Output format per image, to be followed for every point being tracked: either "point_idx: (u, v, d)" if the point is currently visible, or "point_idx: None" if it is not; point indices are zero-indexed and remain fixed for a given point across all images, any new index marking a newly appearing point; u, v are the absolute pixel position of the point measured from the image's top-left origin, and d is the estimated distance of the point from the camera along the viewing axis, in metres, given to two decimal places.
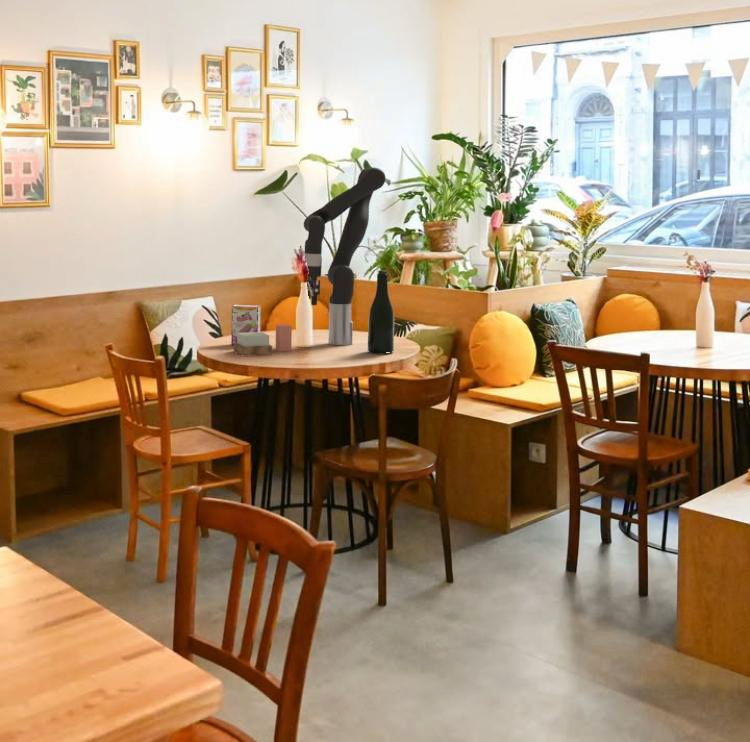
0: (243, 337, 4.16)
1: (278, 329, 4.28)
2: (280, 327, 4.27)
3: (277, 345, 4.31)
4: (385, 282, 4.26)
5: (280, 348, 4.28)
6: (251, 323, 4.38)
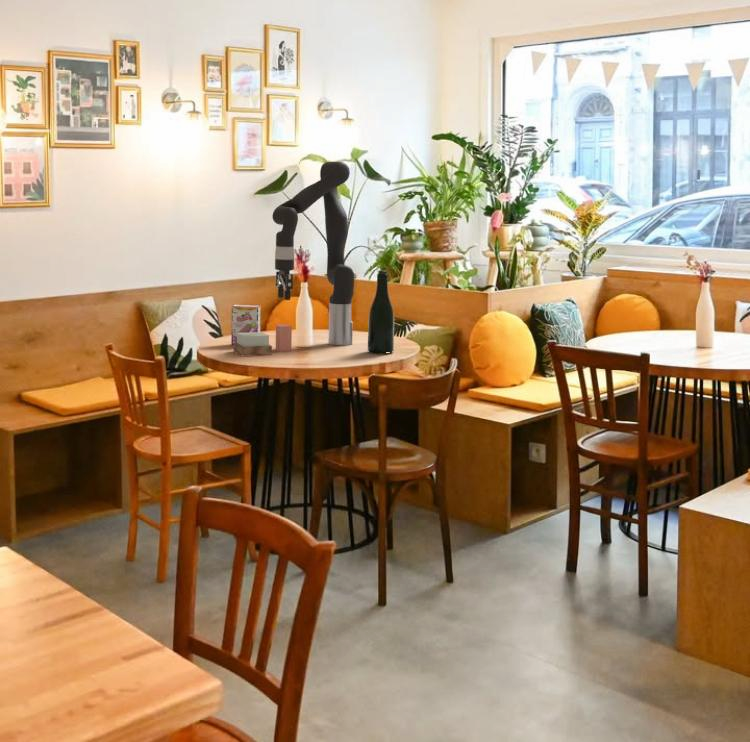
0: (243, 337, 4.16)
1: (278, 329, 4.28)
2: (280, 327, 4.27)
3: (277, 345, 4.31)
4: (385, 282, 4.26)
5: (280, 348, 4.28)
6: (251, 323, 4.38)
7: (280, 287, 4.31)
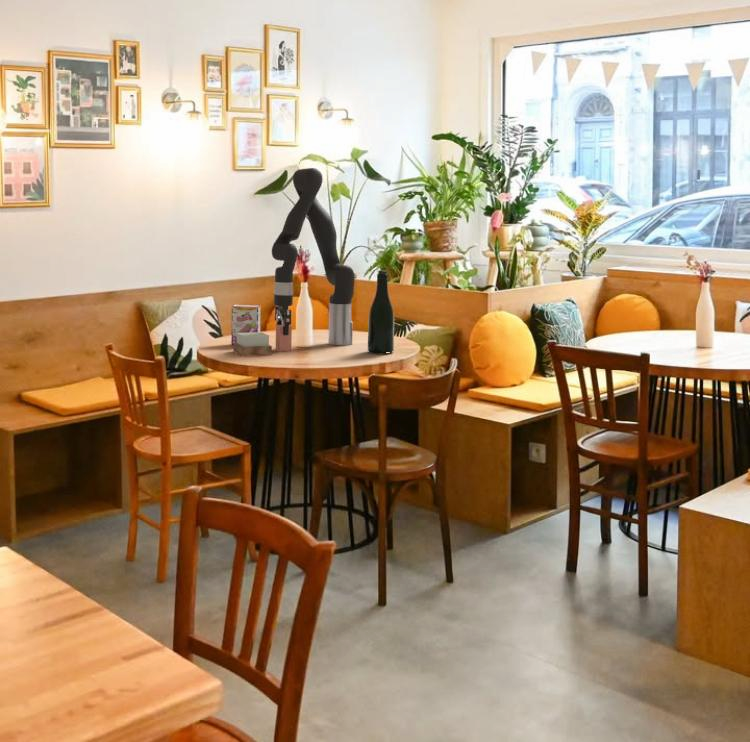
0: (243, 337, 4.16)
1: (278, 329, 4.28)
2: (280, 327, 4.27)
3: (277, 345, 4.31)
4: (385, 282, 4.26)
5: (280, 348, 4.28)
6: (251, 323, 4.38)
7: (279, 322, 4.34)
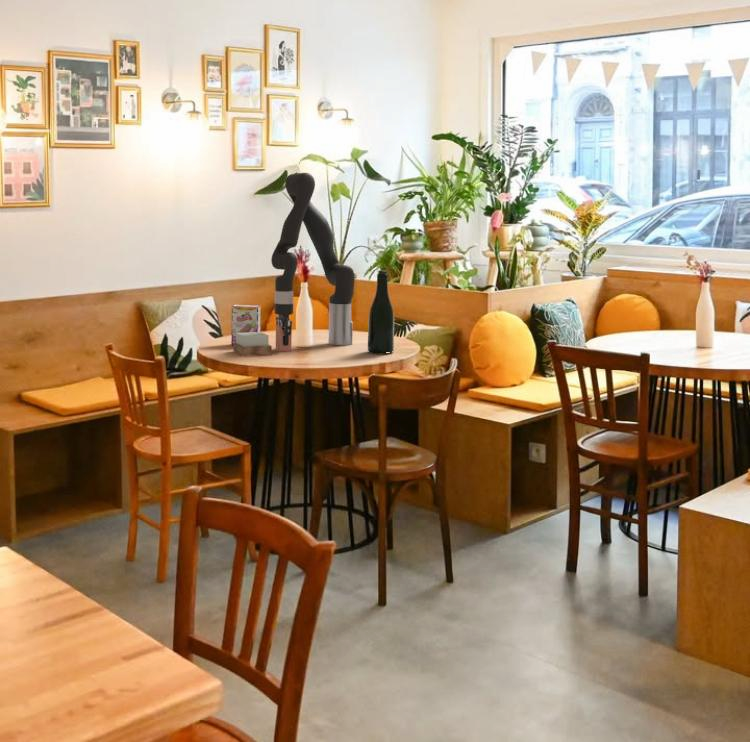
0: (243, 337, 4.16)
1: (278, 329, 4.28)
2: (280, 327, 4.27)
3: (277, 345, 4.30)
4: (385, 282, 4.26)
5: (280, 348, 4.28)
6: (251, 323, 4.38)
7: None
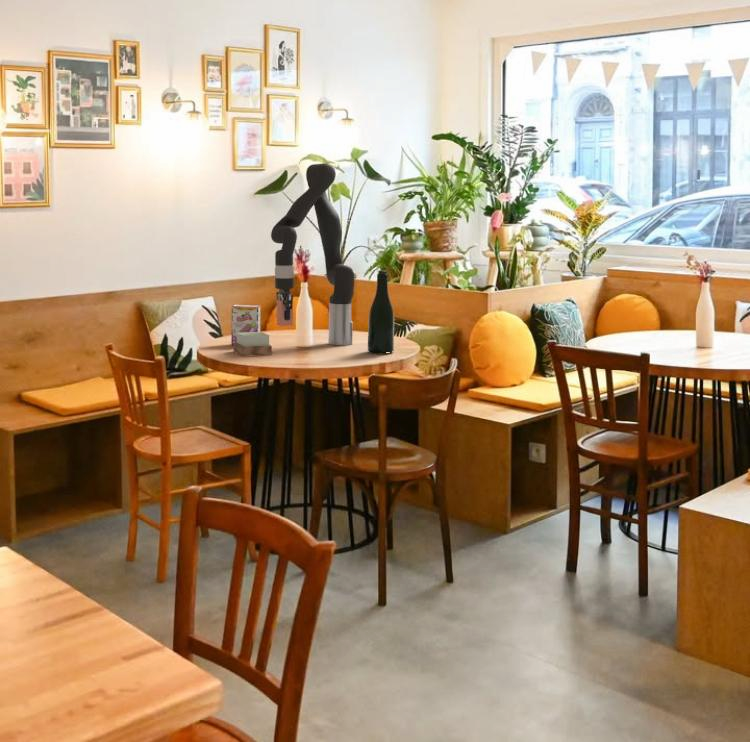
0: (243, 337, 4.16)
1: (279, 303, 4.26)
2: (281, 302, 4.25)
3: (278, 320, 4.29)
4: (385, 282, 4.26)
5: (282, 322, 4.27)
6: (251, 323, 4.38)
7: None
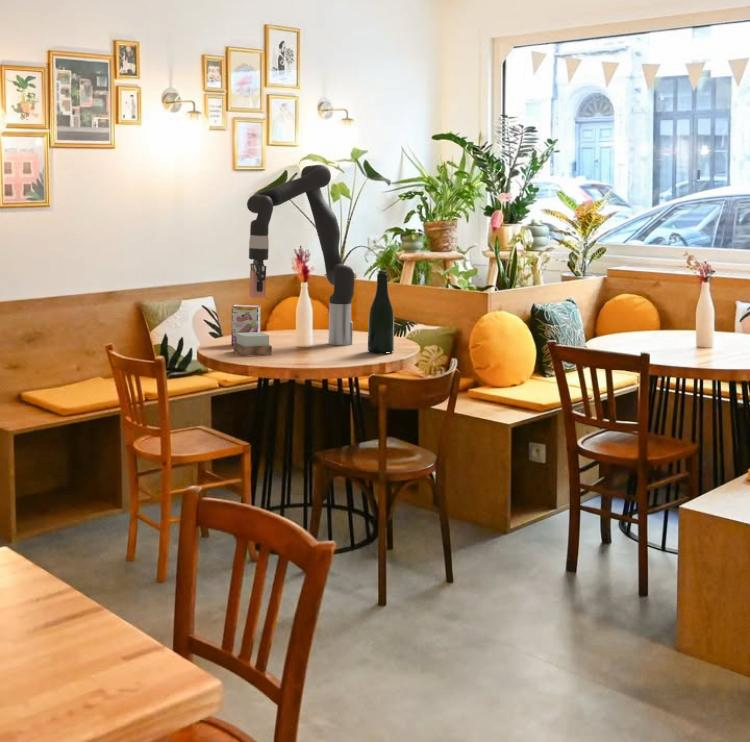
0: (243, 337, 4.16)
1: (252, 274, 4.17)
2: (254, 272, 4.16)
3: (251, 291, 4.19)
4: (385, 282, 4.26)
5: (254, 294, 4.17)
6: (251, 323, 4.38)
7: None
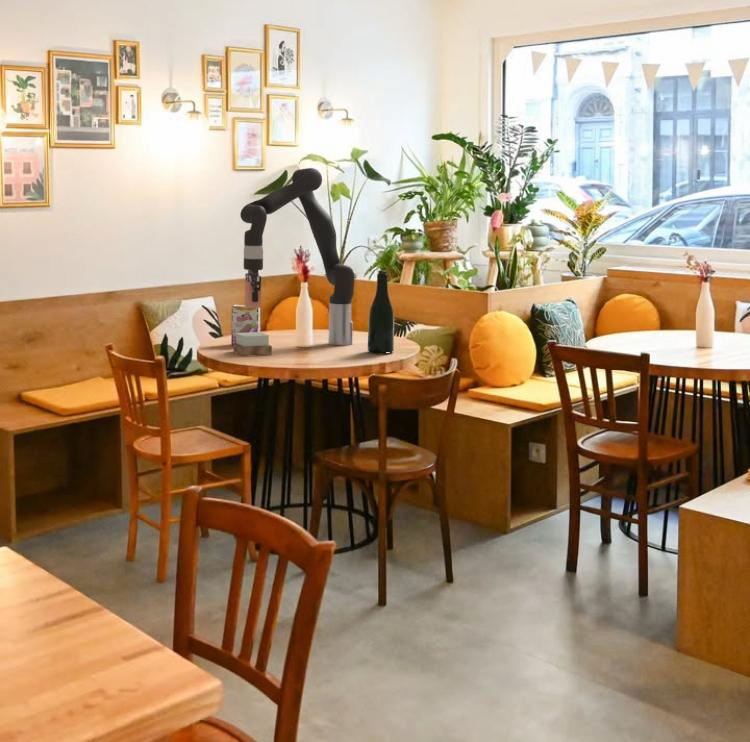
0: (243, 337, 4.16)
1: (247, 285, 4.16)
2: (249, 283, 4.15)
3: (246, 302, 4.18)
4: (385, 282, 4.26)
5: (249, 304, 4.16)
6: (251, 323, 4.38)
7: None
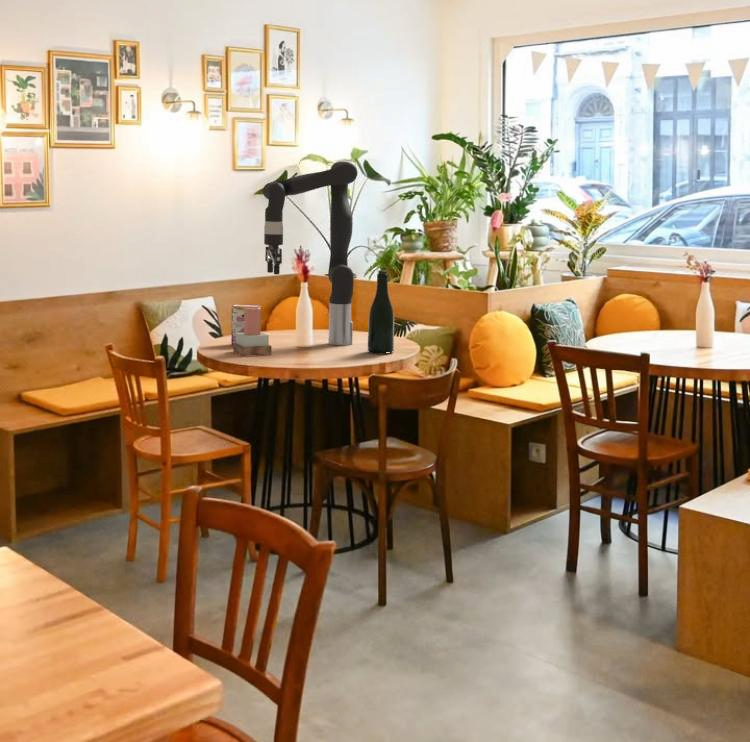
0: (243, 337, 4.16)
1: (247, 312, 4.18)
2: (249, 310, 4.17)
3: (246, 329, 4.20)
4: (385, 282, 4.26)
5: (249, 331, 4.18)
6: None
7: (269, 262, 4.36)
